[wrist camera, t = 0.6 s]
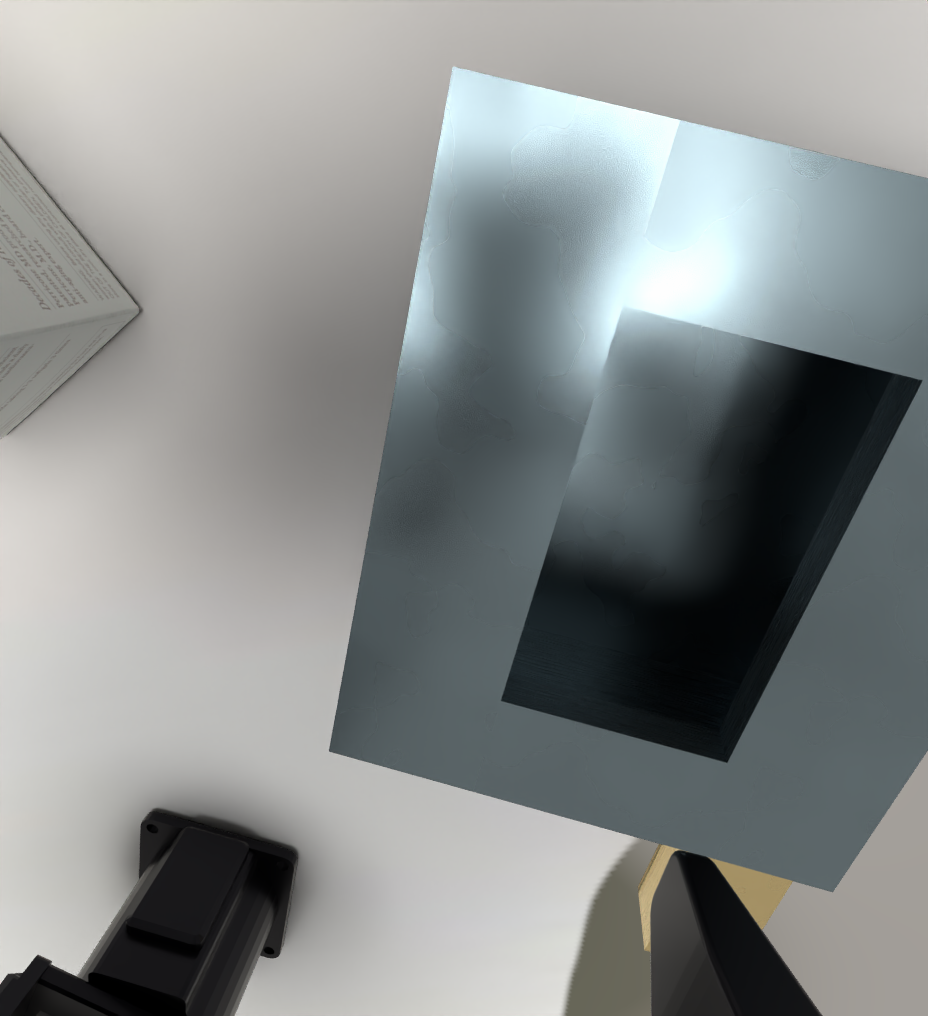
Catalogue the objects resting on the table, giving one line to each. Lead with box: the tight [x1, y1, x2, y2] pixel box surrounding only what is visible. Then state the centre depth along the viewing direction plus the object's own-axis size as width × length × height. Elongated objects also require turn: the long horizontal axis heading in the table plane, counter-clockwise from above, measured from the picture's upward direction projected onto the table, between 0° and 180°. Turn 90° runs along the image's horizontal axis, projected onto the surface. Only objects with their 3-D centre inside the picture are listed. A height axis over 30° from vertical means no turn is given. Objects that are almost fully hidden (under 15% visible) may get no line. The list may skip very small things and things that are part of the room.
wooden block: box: [638, 844, 793, 952], centre depth 24 cm, size 6×3×2 cm, turn 167°
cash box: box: [329, 67, 928, 892], centre depth 16 cm, size 14×12×7 cm
